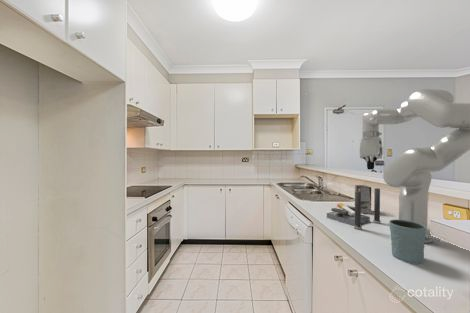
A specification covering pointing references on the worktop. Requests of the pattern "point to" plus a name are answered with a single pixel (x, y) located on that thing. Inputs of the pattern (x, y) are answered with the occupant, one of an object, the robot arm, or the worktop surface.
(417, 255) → the teal green cup
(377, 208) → the dark grey post
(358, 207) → the dark grey rod
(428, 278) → the worktop surface
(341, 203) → the block
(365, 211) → the coffee box
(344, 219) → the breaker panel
